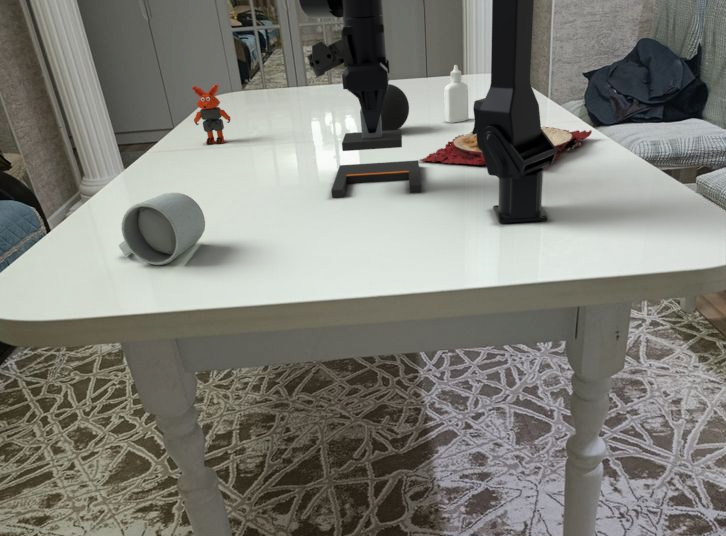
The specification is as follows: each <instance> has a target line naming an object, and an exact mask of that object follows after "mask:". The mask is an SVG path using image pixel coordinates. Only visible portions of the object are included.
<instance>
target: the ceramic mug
mask: <svg viewBox="0 0 726 536" xmlns="http://www.w3.org/2000/svg"><path fill="white" fill-rule="evenodd" d="M205 228H206V218H205V215H204V212H203V210H202V208H201V207H200V205H199V204H198V203H197V202H196V201H195V200H194V199H193V198H192V197H191V196H189V195H187V194H185V193H181V192H166V193H162V194H160V195H157V196H155V197H152V198H149V199H147V200H144V201H140V202H138V203H136V204H134V205H132V206H131V207H129V208H128V209H127V210H126V212H125V213H124V215H123V216H122V222H121V233H122V237H123V241H122V242H121V243H119V244H118V248H119V249H120V250H121V252H122V255H124V256H128V255H130V254H131V253H132V254H133V255H134V256H135V257H136V258H138V259H139V260H140V261H143V262H145V263H147V264H150V265H154V266H162V265H167V264H168V263H171V262H172V261H173V260H175V259H176V258H177V257H179V256H180V255H182V254H183V253H184V252H186V251H187V250H188V249H190V248H192V246H194V245H195V244H196V243H198V242H199V240H200V239H201V238H202V236H203V234H204V232H205Z"/></svg>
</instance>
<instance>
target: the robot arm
mask: <svg viewBox="0 0 726 536" xmlns="http://www.w3.org/2000/svg"><path fill="white" fill-rule="evenodd" d="M298 1H299V6H300V8H301V10H302V11H303V13H304V14H305V15H306V16H307V17H308V18H310V19H338V18H339V19H341V18H343V27H342V29H340V34H341V37H340V38H338V39H337V40H334V41H333V42H331V43H329V44H327V43H326V42H325V41H323V40H321V41H319V42H317V43H314V44H313V45H311V53H309V54H307V55H306V58H307V60H308V62H309V64H308V65H309V67H310V68H311V69H312V71H313V73H314V76H315V78H320V77H321V76H323V75H325V74H326V73H327V72H328V71H331V70H333V69H335V68H337V67H339V66H341V65H342V64H343V68H345V70H344V71H343V72H342V73H341V81H342V89H343V90H347V91H348V92H349V93H351V94H352V95H353V96H355V97H356V98H357V99H358V102H359V105H360V110H361V109H362V112H363V116H364V119H365V123H366V126H367V129H368V132H369V133H375V132H376V129H377V126H378V122H379V118H380V114H381V111H382V107H383V104H384V100H385V96H386V93H387V89H388V84H389V82H390V77H389V74H390V71H391V70H390V58H388V56H387V53H386V52H387V50H386V37H385V21H384V8H383V7H384V6H383V0H298ZM491 2H492V3H491V5H492V6H491V51H490V52H491V54H490V55H491V58H490V85H489V89H488V91H487V94H485V95H486V96H485V98H480V99H478V100H477V99H475V100H474V103H473V107H472V108H473V117H474V118H473V119H474V122H473V123H474V124H473V129H472V131H471V132H472V134H473V135H474V134H477V135H476V139H477V145H478V148H479V150H481V151H482V153H483V157H484V160H485V164H484V165H485V168H486V171H487V174H488V176H495V177H497V179H498V204H495V205H493V206H492V210H493V213H494V215H495V217H496V220H497V222H498V223H500V224H510V223H523V222H524V223H526V222H541V221H547V220H548V218H549V216H548V214H547V213H546V210H545V209H544V208H543V206H542V202H543V201H542V200H543V181H544V179H543V178H544V168H545V167H547V166H551V165H553V164H554V161H555V160H554V159H555V156H556V154H557V149H556V147H555V146H554V145H553V143H552V142H551V141H550V139H549V138H548V137H547V135H546V134H545V133H544V131H543V130H542V129H541V127H542V125H541V123H542V122H541V113H540V112H541V111H540V105H539V104H540V103H539V101H538V99H537V97H536V95H535V92H534V90H533V86H532V84H531V68H532V67H531V66H532V65H531V64H532V49H533V47H532V46H533V45H532V44H533V25H534V24H533V23H534V3H535V1H534V0H492V1H491Z"/></svg>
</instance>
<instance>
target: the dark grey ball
mask: <svg viewBox="0 0 726 536" xmlns="http://www.w3.org/2000/svg"><path fill="white" fill-rule="evenodd" d="M409 113H410V103H409V100H408V97H407V95H406V93H405V92H404V91H403V90H402V89H401V88H400V87H398V86H396V85H394V84H390V83H388V89H387V93H386V96H385V100H384V104H383V107H382V111H381V123H382V131H389V130H400V128H402V127H403V126H404V125H405V123H406V121H407V120H408V117H409Z"/></svg>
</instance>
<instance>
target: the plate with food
mask: <svg viewBox="0 0 726 536" xmlns="http://www.w3.org/2000/svg"><path fill="white" fill-rule="evenodd" d="M541 129H542V130H543V131H544V133H545V134H546V135H547V137H548V138H549V139H550V141H551V142H552V143H553V145H554V146H555V147H556V149H557V154H556V156H555V159H554V161H557V160H558V159H559V157H560V155H563V154H564V153H565V152H573V151H574V150H575V149H574V148H577V147H580V146H582V142H581V141H583V140H586V139H587V138H589V137H590V136H591V134H592V132H593V130H592V129H590V130H589V131H587V130H582V131H580V130H579V129H577V130H573V131H569V129H568V130H566V129H562V128H561V129H560V128H556V127H551V126H541ZM472 132H473V131H471V132H470V133H466V134H463V133H462V134H460V135H459V134H458V135H457V136H455V137H454V138H453V139H452V141H447V143H446V144H445V146H444V148H443V147H441V148H439V149H437V150H436V152H431V153H429V154H428V155H427V156H426V157H425V158H422V159H419V161H422V162H424V163H426V162H432V163H436V162H440V163H441V164H448V165H449V164H465V165H467V164H468V165H478V166H479V165H486V164H485V160H484V157H483V153H482V151H481V150H479V148H478V145H477V139H476V135H477V134H474V135H473V134H472Z"/></svg>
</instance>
